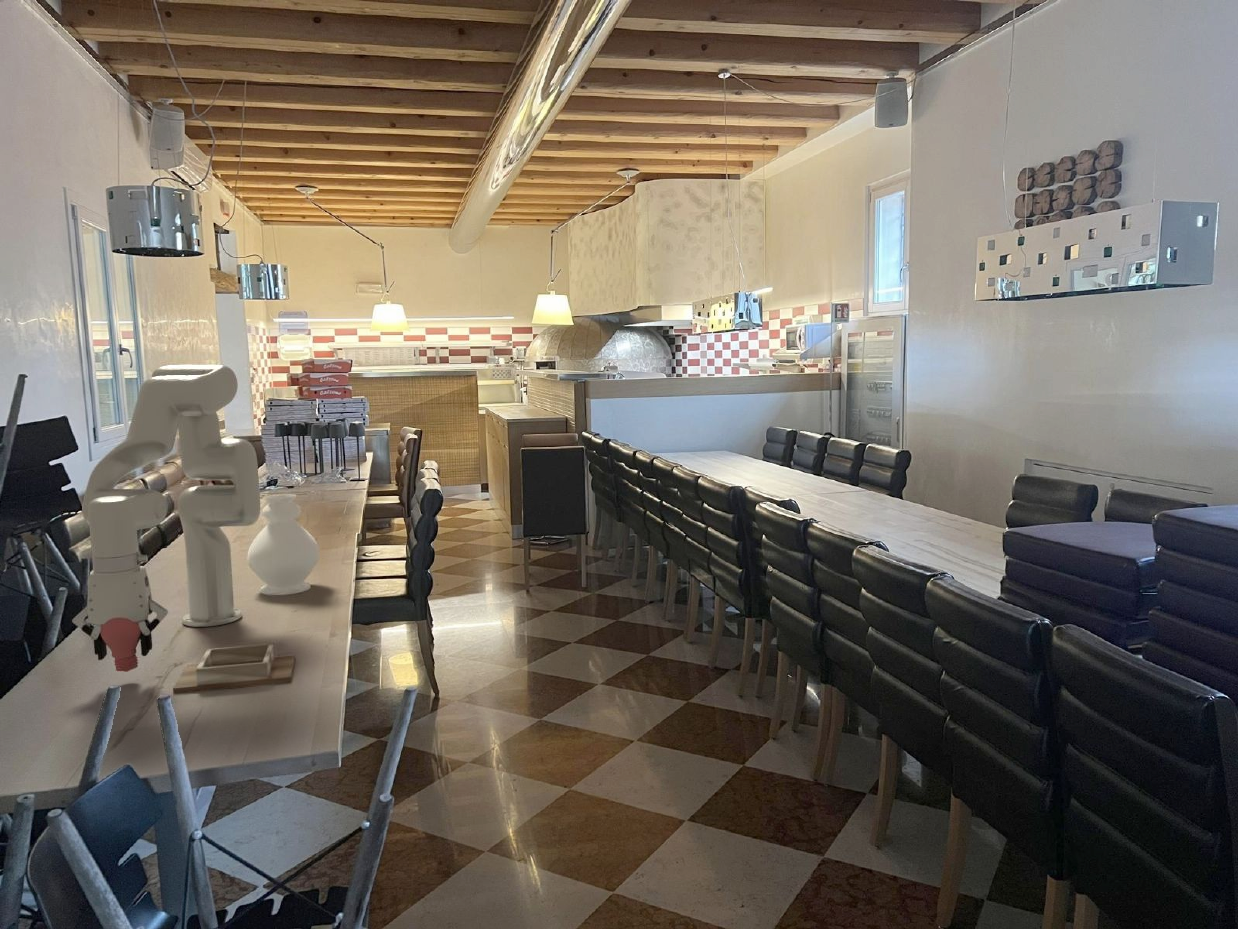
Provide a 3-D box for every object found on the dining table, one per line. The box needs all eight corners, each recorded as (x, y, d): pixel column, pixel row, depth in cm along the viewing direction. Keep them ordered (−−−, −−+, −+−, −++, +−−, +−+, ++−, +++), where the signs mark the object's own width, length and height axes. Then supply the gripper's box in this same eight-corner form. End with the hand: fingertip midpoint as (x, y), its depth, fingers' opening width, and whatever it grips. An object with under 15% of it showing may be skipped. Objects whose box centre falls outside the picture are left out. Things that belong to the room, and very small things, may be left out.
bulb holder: (187, 669, 173) (186, 650, 172) (295, 660, 178) (294, 640, 178) (173, 693, 160) (171, 672, 160) (290, 682, 166) (289, 661, 165)
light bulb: (99, 671, 166) (93, 609, 165) (140, 661, 171) (135, 602, 170) (110, 681, 161) (104, 618, 160) (152, 671, 166) (147, 610, 165)
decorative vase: (319, 578, 246) (315, 489, 243) (322, 594, 229) (318, 498, 226) (250, 584, 239) (245, 493, 236) (248, 601, 223) (243, 503, 220)
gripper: (172, 555, 169) (179, 644, 172) (70, 561, 165) (78, 653, 167) (163, 564, 162) (170, 658, 165) (56, 571, 157) (65, 667, 160)
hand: (124, 654), depth 166 cm, fingers closed on light bulb, 6 cm apart
